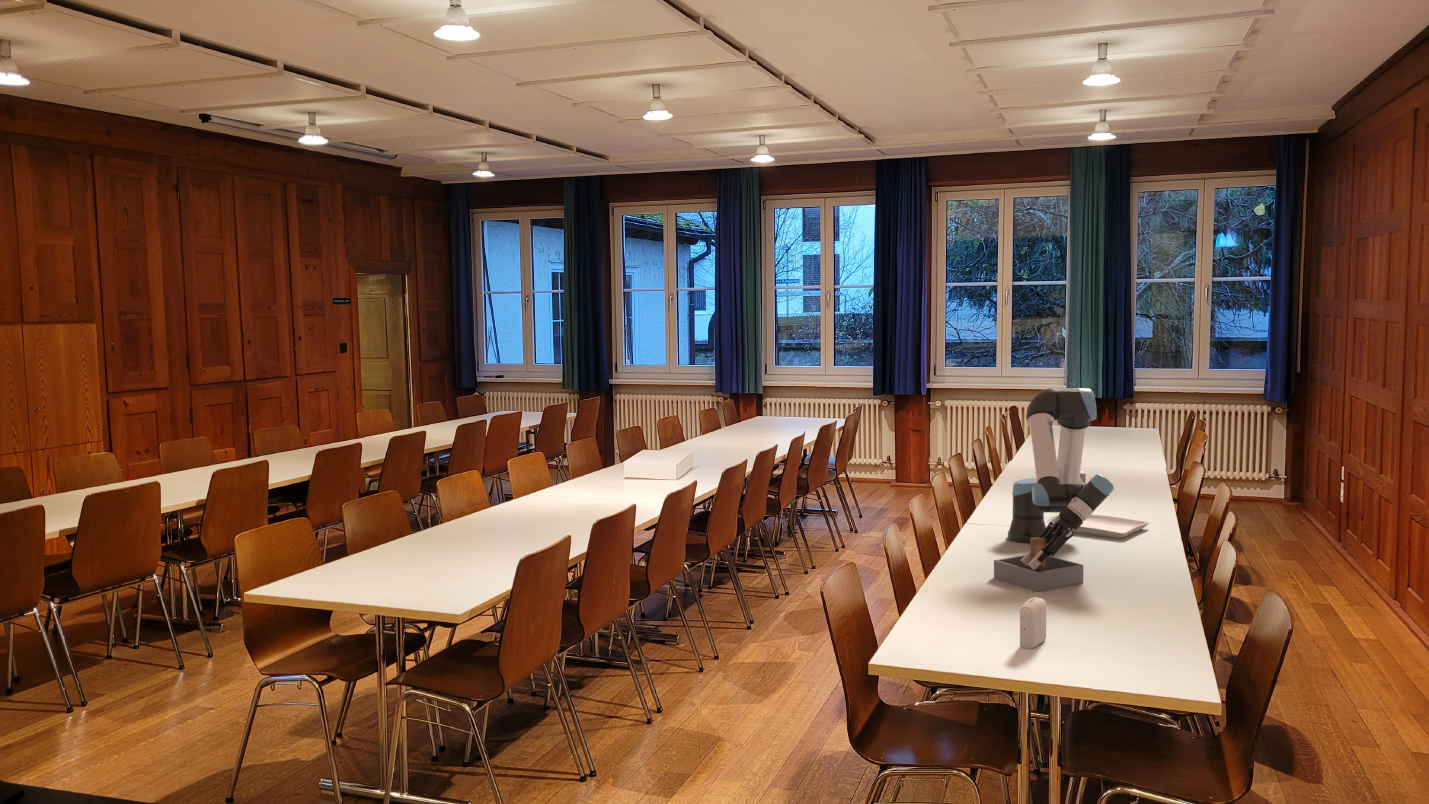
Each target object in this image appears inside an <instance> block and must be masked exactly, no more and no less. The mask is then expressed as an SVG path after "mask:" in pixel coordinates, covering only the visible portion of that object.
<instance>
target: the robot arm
mask: <svg viewBox="0 0 1429 804" xmlns="http://www.w3.org/2000/svg"><path fill="white" fill-rule="evenodd" d="M1096 403H1097V402H1096V398H1095V393H1094V391H1093V390H1092V389H1091V388H1088V387H1085V388H1083V387H1082V388H1081V387H1078V388H1077V387H1076V388H1074V387H1073V388H1071V387H1068V388H1064V387H1063V388H1054V387H1053V388H1052V387H1051V388H1046V389H1043V390H1041V391H1040V392H1038V393H1037V394H1036V395H1034V396H1033V398H1032V399H1031V400H1030V402H1029V403H1028V406H1027V408H1026V413H1025V420H1026V425H1027V427H1029V428H1030V435H1031V436H1030V437H1031V444H1032V454H1033V459H1034V460H1033V461H1034V468H1035V475H1036V477H1029V478H1024V479H1018V480H1016V481H1015V482H1014V483H1013V485H1012V492H1011V494H1012V520H1011V523H1010V526H1009V530H1008V531H1007V539H1008V540H1010V541H1013V542H1018V543H1027V544H1030V538H1034V537H1040V538H1045V539H1046V547H1045V548H1042V550H1043V551H1044V552H1043V551H1042V550H1041V551H1040V552H1039V553H1038V554H1037V555H1036V556H1035V557H1034V558H1033V560H1032V561H1031V562H1030V550H1029V551H1028V552H1027V553H1026V554H1024V555H1025V556H1024V557H1023V558H1022V559H1021V561H1022V562H1023V563H1024V564H1025V565H1026V566H1028V565H1029V566H1030V567H1031V568H1032V569H1033V570H1035V569H1036V568H1037V567H1038V566H1039V565H1040V564H1041V563H1042V562H1043V561H1044V560H1045V558H1046V557H1047V556H1053V557H1055V555H1056V554H1057V553H1058V552H1059V550H1060V549H1062V547H1063V546H1064V545H1065V544H1066V543H1067V542H1068V541H1069V539H1071V538H1072V537H1073V536H1074V532H1071V530H1072V529H1074V530H1077V529H1078V528H1079V527H1080V526H1081V525H1082V524H1083V521H1085V520H1086V519H1087V518H1088V517H1089V516H1090V515H1093V513H1094V511H1096V510H1097V508H1098V507H1099V506H1100V505H1102V504H1103V502H1104V501H1105V500H1106V499H1107V498H1108V497H1109V496H1110V495H1111V494H1112V492H1113V491H1114V490H1115V487H1114V486H1115V485H1114V484H1113V483H1112V482H1111V480H1109V479H1108V478H1107V477H1105V476H1103V474H1099V473H1096V474H1095V475H1094V476H1092V477H1091V478H1090V480H1089V481H1088V482H1087V483H1085V484H1084V483H1083V481H1082V479H1081V478H1080V469H1081V468H1082V467H1081V465H1082V459H1083V450H1084V442H1085V433H1086V429H1088V428H1089V427H1090V426H1091V421H1094V420H1095V421H1096V419H1097V416H1098V413H1097V412H1098V411H1097V404H1096ZM1055 421H1056V422H1057V424H1058V426H1059V427H1060V429H1059V431H1060V433H1059V440H1058V449H1057V452H1056V445H1055V444H1056V443H1055V438H1054V430H1053V429H1054V428H1053V425H1054V423H1055ZM1045 513H1050V514H1051V513H1058V518H1059V519H1058V520H1056V521H1055V522H1053V521H1050V522H1049V523H1048V525H1047V526H1046V523H1045V517H1044V516H1045Z"/></svg>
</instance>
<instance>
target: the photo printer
mask: <svg viewBox="0 0 1429 804" xmlns="http://www.w3.org/2000/svg"><path fill="white" fill-rule="evenodd" d="M1046 639H1047V603H1046V601H1045V600H1044V599H1043V598H1041V597H1040V598H1039V597H1032V598H1031V597H1030V598H1029V599H1027V600H1026V601H1025V602H1024V603H1023V604H1022V606H1021V608H1020V611H1019V645H1020V647H1021V648H1024V649H1026V650H1027V649H1030V650H1031V649H1034V648H1036V647H1037V646H1040V644H1042V643H1044V642H1045V641H1046Z"/></svg>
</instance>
